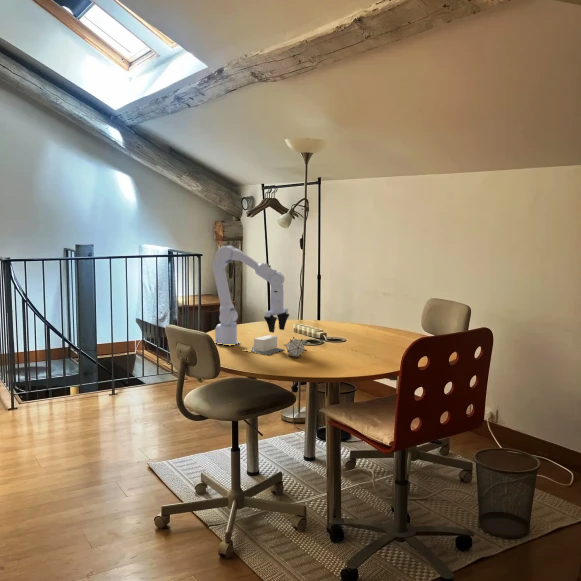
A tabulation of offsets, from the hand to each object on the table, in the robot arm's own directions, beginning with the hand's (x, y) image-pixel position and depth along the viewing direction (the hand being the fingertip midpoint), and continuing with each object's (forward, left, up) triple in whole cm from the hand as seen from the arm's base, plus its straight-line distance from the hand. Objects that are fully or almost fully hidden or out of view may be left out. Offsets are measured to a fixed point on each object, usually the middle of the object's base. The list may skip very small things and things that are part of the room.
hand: (276, 330), depth 271 cm
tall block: (0, -3, -4) cm, 5 cm away
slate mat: (0, -10, -7) cm, 12 cm away
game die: (+18, -12, -7) cm, 23 cm away
